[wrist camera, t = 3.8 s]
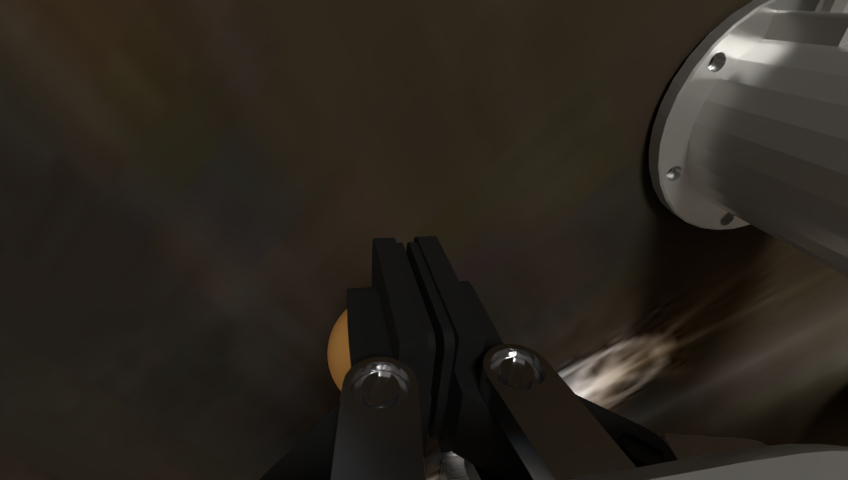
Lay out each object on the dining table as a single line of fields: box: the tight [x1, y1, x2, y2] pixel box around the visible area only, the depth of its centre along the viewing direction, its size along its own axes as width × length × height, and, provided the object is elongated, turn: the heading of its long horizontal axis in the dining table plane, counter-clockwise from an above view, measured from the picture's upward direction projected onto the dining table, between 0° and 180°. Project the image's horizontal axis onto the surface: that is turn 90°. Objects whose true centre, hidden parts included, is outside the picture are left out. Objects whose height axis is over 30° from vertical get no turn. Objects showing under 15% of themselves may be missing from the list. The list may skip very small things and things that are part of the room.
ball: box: [327, 309, 351, 391], centre depth 22 cm, size 6×6×6 cm
